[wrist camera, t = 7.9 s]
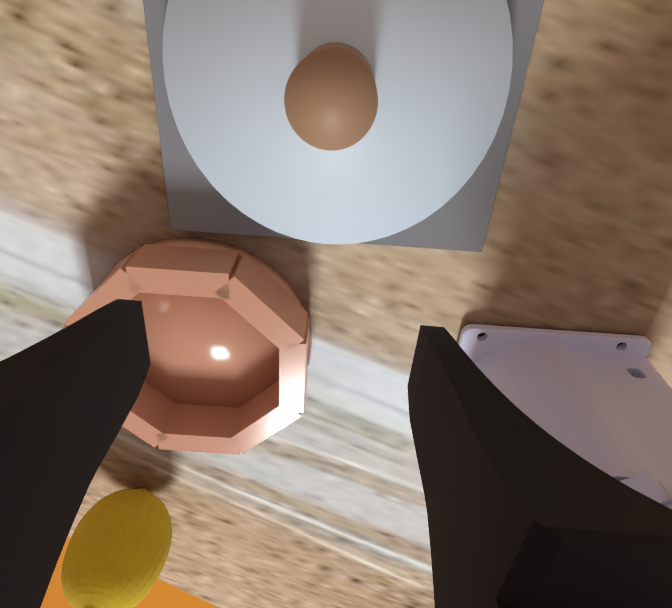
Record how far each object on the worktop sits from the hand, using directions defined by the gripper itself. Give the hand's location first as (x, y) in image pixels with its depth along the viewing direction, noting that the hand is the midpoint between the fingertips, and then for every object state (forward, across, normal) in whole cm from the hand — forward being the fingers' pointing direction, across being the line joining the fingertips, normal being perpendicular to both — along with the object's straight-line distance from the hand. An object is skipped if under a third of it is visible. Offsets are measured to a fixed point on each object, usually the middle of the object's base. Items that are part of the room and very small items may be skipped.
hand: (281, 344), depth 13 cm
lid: (+10, -1, -5) cm, 11 cm away
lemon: (+10, +10, +21) cm, 25 cm away
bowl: (+10, +5, +8) cm, 14 cm away
